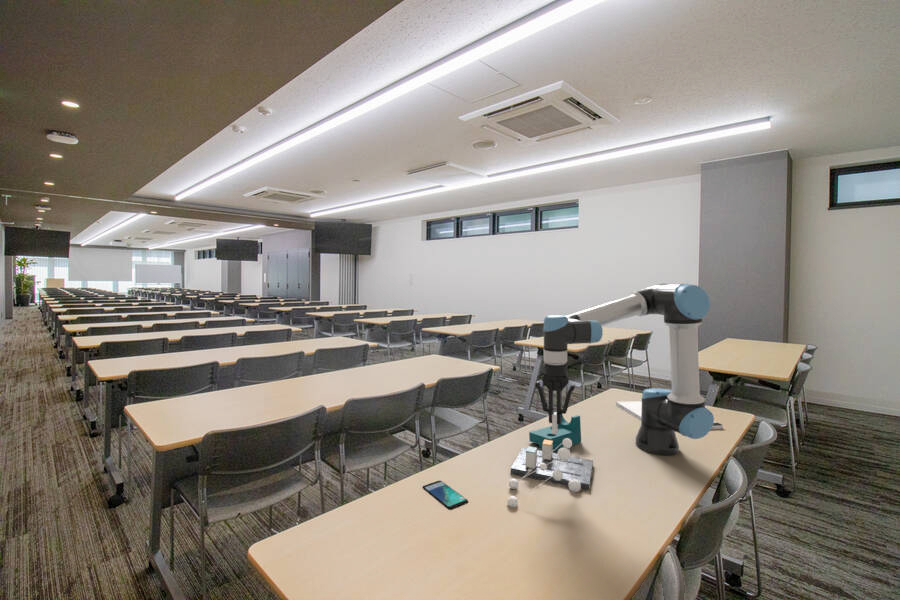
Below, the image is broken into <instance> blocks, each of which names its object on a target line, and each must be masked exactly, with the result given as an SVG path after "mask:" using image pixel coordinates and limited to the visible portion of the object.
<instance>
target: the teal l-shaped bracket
mask: <svg viewBox="0 0 900 600" xmlns="http://www.w3.org/2000/svg"><path fill="white" fill-rule="evenodd" d="M563 415H564V414H561V423H560V424H558V432H557V435H555V434H552V425H550V426H547V427H543V428H539V429H535V430H533V431H529V432H528V435H529V442H531V443H533V444H536V445H538V446H539V449H540V450H542V443H543V441H544V439H545V440H551V441H553V450H554V449H555V450H554V451H553V452H556V451H558V450H559V449H560V448H564V446H563V444H561V443H562V442H563V440H564V439H565V438H569V439H570V440H571V441H572V446H574V445H577V444H580V443H582V430H581V428H582V426H581V425H582V424H581V416H580V415H578V414H577V415H573V416H571V418H570V419H571V420H570V422H568V421H567V420H566V419H565V417H564V416H563ZM560 444H561V445H560ZM559 445H560V446H559ZM558 446H559V447H558ZM557 447H558V448H557Z"/></svg>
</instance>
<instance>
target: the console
mask: <svg viewBox="0 0 900 600" xmlns="http://www.w3.org/2000/svg"><path fill="white" fill-rule="evenodd" d="M527 448H528V447H525V446H524V447H522V448H521V450H520V451H519V453H518V455H517V457H516V458H515V460H514V462H513V463H512V465H511V467H510V474H511V475H515V476H520V477H522V478H523V477H524V476H525V475H526V474H527V473H528V472H529V471H530V472H529V473H528V474H529V475H528V474H527V475H528V476H527V475H526V477H524V478H528V479H533V480H538V481H542V480H543V481H542V482H544V481H545V480H546V481H545V482H548V483H552V484H558V485H562V486H566V487H569V486H568V484H569V481H570V480H572V478H573V479H574V477H575V479H576V480H578V481H579V482H580V484H581V489H580V490H585V491H590V488H591V481H592V480H591V479H592V475H593V467H594V460H593V459H589V458H582V457H578V456H572V455H571V458H570V459H569V460H567V463H566V461H562V460H561V462H560V459H557V458H559V457H558V453H556V452H553V456H552V458H551V460H547V459H544V460H543V459H542V450H541V449H540V450H539V449H537V464H538V465H537V464H536V465H537V466H536V467H535V468H534V469H533V468H530V467H525V465H526V450H527ZM556 459H557V460H556ZM542 460H543V461H542ZM554 460H555V461H554ZM571 460H572V463H571ZM541 461H542V462H541ZM552 461H553V462H552ZM550 462H551V463H550ZM541 463H545V464H546V465H547V464H548V463H549V464H548V465H547V469H546V470H545V471H542V470H541V469H539V468H540V467H539V466H540V464H541ZM559 464H560V466H559ZM567 464H568V465H567ZM572 466H573V469H572ZM558 467H559V469H558ZM568 467H569V468H568ZM532 469H533V470H532ZM537 469H539V470H537ZM536 470H537V471H536ZM554 470H560V471H561V472H562V474H563V478H564V479H561V480H559V481H557V480H555V479H554V478H553V475H552V474H553V471H554ZM569 470H570V471H569ZM534 471H535V472H534ZM573 471H574V474H573ZM532 472H533V473H532ZM570 472H571V474H570ZM530 473H531V474H530ZM571 475H572V477H571ZM551 476H552V477H551ZM550 477H551V478H550ZM548 478H549V479H548ZM547 479H548V480H547ZM565 479H566V480H565ZM568 480H569V481H568Z"/></svg>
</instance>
